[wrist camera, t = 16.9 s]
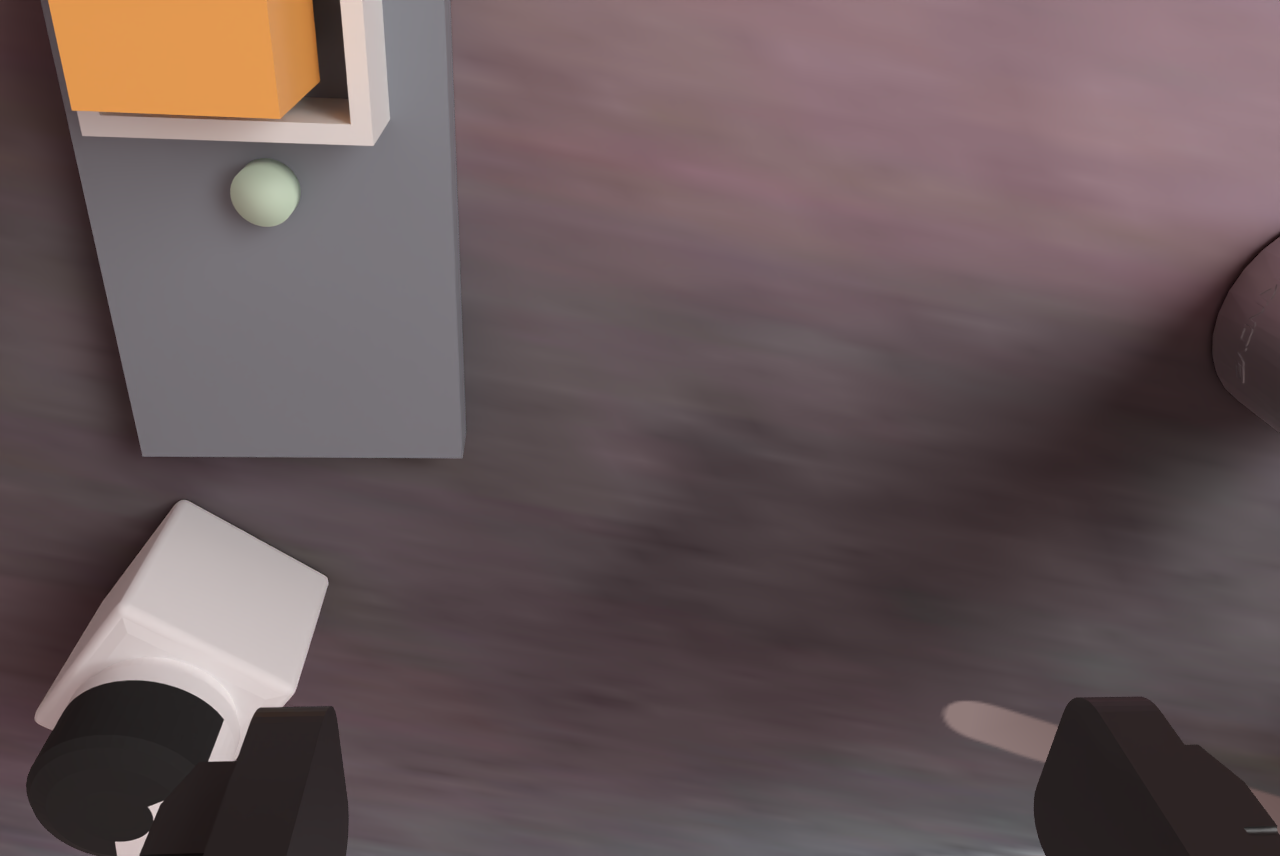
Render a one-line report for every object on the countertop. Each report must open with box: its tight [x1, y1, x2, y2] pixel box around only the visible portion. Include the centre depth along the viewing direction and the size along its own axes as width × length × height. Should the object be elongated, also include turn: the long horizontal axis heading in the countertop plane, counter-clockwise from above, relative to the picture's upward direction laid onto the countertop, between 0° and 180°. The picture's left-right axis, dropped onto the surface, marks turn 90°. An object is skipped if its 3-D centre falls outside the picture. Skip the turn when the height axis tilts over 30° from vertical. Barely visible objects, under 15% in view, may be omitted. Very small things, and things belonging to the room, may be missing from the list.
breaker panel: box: [40, 0, 466, 458], centre depth 32 cm, size 12×24×6 cm, turn 177°
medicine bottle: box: [26, 500, 329, 856], centre depth 38 cm, size 7×7×12 cm
